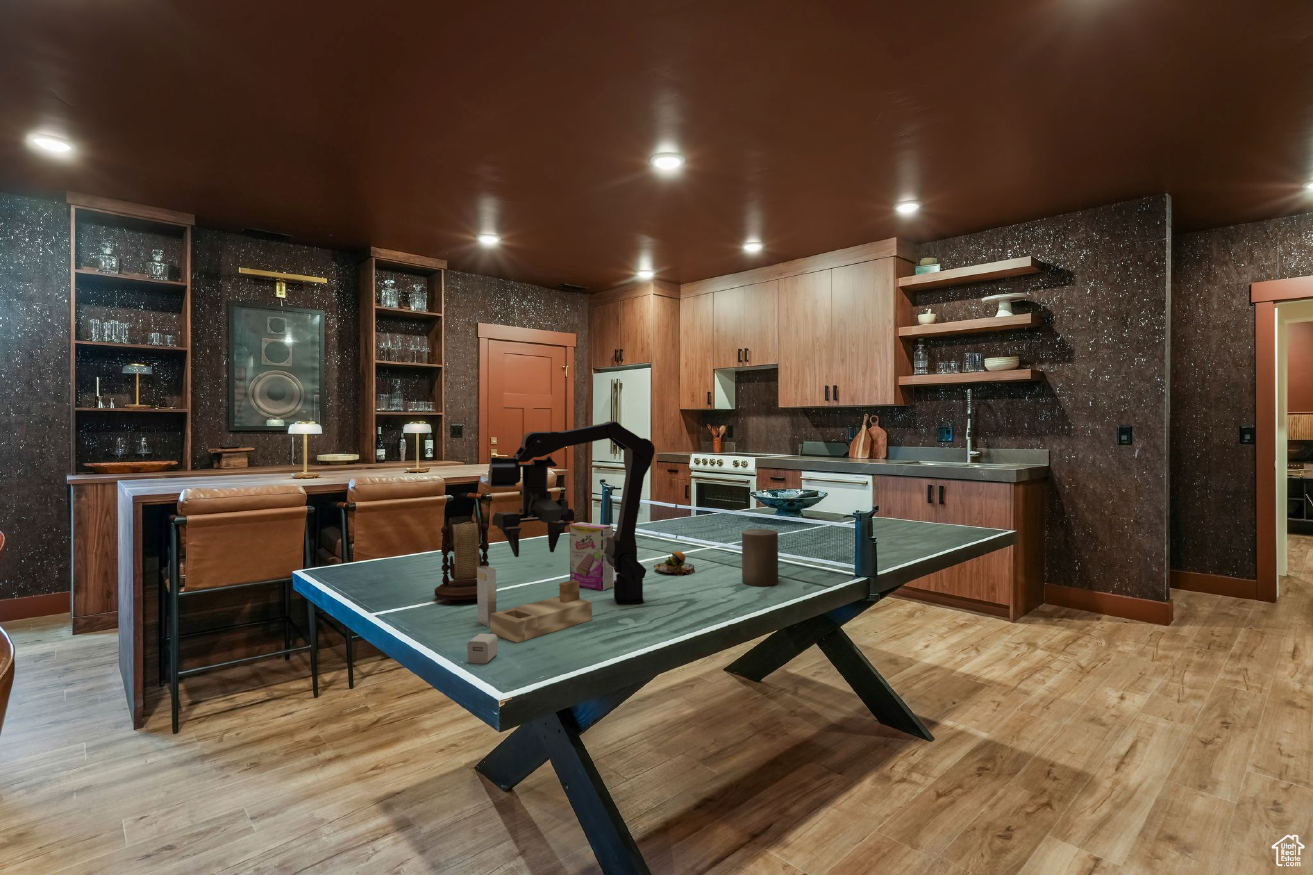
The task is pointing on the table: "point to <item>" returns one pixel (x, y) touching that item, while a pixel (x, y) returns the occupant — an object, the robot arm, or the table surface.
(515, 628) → the hand plane
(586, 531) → the candy bar box
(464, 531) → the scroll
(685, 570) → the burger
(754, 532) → the pillar candle
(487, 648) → the usb wall charger
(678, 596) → the table surface
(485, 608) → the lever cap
